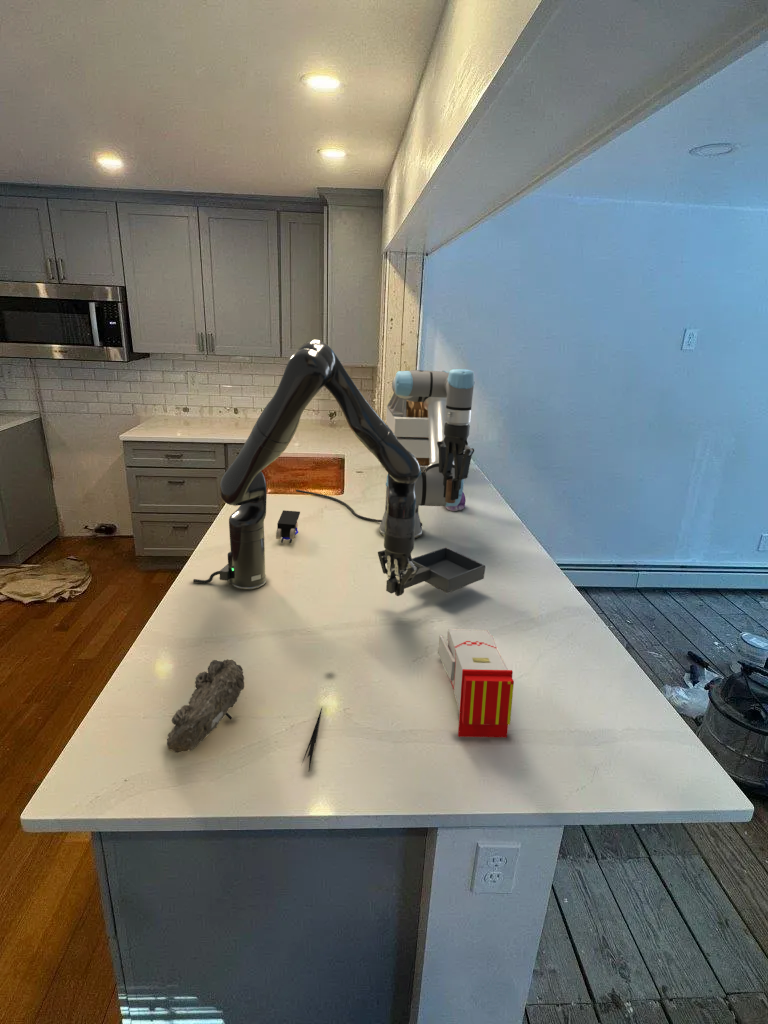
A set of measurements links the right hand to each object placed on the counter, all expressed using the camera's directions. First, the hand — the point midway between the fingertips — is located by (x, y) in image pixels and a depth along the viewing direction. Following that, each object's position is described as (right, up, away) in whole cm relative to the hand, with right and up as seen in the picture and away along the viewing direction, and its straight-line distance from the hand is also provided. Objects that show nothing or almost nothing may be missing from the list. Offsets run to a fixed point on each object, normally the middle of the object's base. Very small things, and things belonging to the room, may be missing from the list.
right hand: (450, 497), depth 177 cm
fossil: (-54, -44, -68) cm, 97 cm away
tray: (-9, -24, -22) cm, 34 cm away
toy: (-3, -42, -58) cm, 72 cm away
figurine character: (-53, -13, +16) cm, 57 cm away
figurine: (+8, -3, +52) cm, 53 cm away
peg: (0, -1, 0) cm, 1 cm away
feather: (-33, -44, -68) cm, 88 cm away
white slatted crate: (-4, +14, +98) cm, 100 cm away
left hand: (-18, -25, -30) cm, 43 cm away
